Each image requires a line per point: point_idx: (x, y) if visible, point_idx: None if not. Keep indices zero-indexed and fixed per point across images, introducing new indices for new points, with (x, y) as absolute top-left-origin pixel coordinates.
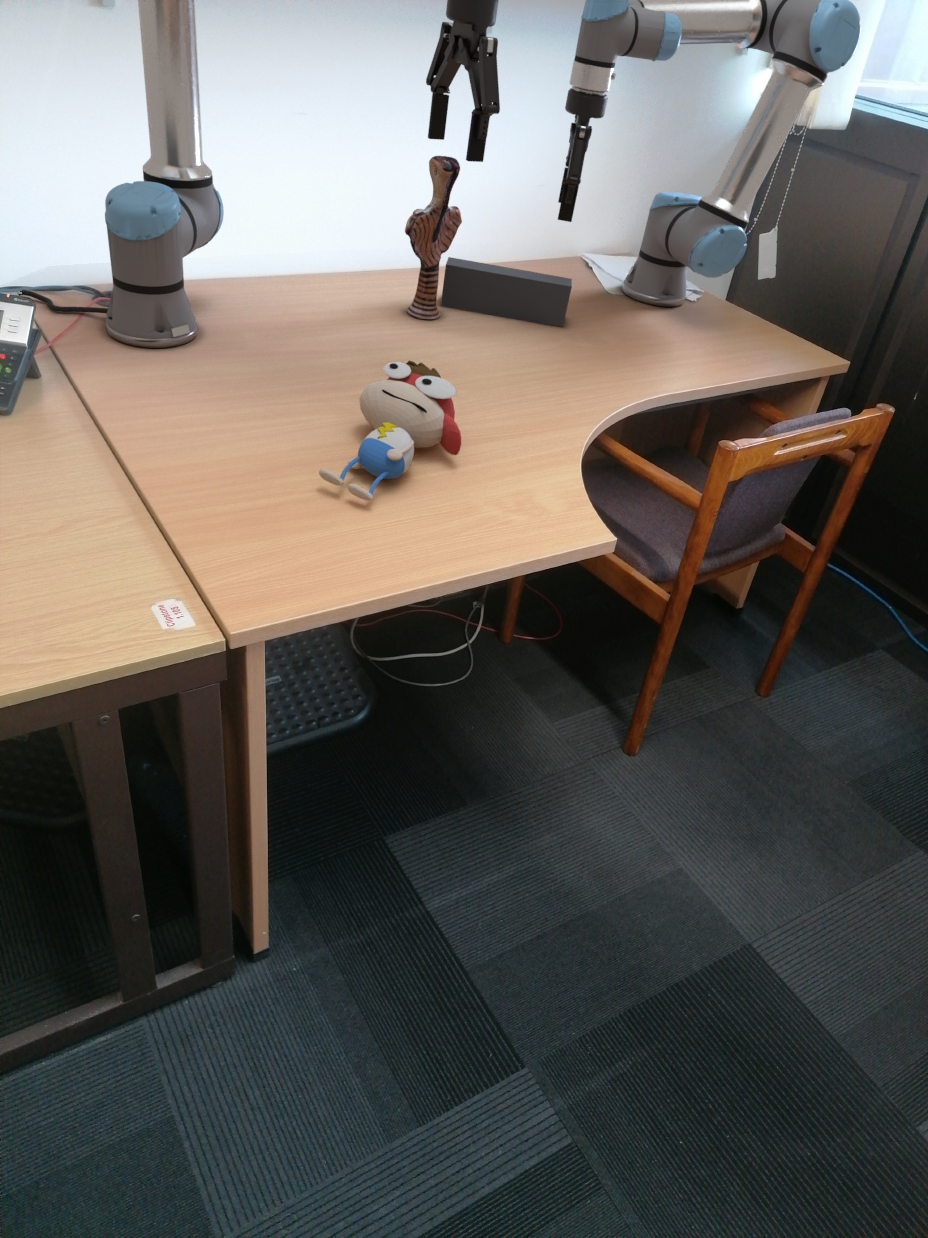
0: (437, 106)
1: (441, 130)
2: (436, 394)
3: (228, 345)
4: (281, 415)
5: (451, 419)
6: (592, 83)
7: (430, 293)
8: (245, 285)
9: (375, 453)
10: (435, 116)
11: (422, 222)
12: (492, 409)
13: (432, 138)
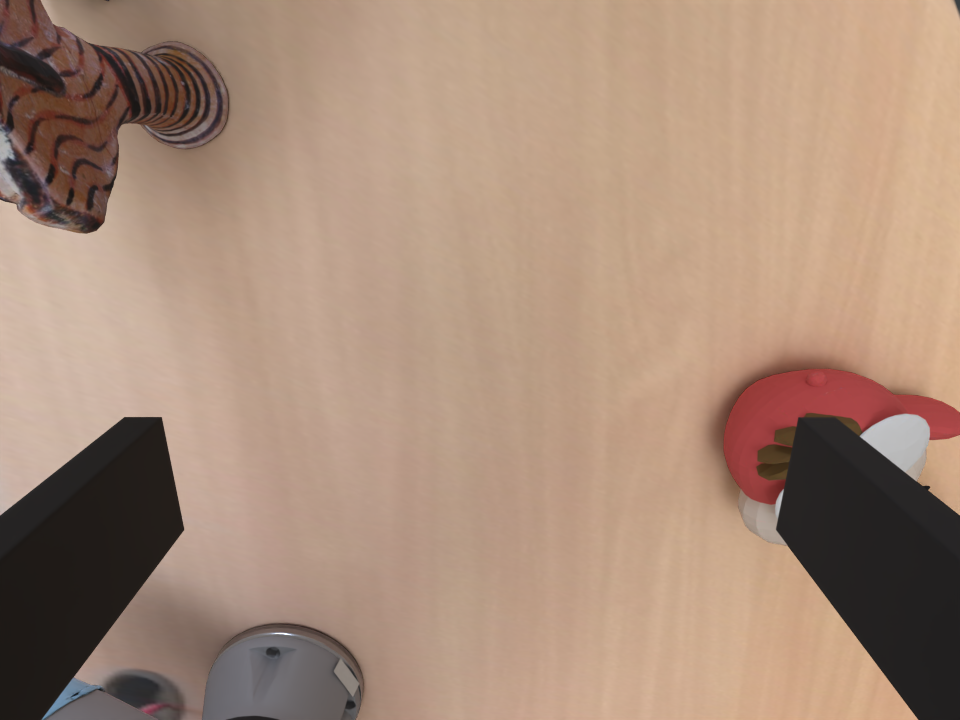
0: (17, 691)
1: (133, 481)
2: (913, 462)
3: (358, 591)
4: (644, 588)
5: (946, 434)
6: None
7: (177, 94)
8: (29, 483)
9: None
10: (86, 622)
11: (57, 167)
12: (758, 201)
13: (179, 511)
